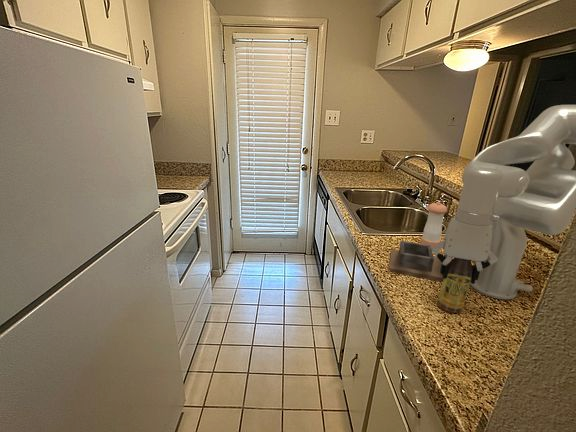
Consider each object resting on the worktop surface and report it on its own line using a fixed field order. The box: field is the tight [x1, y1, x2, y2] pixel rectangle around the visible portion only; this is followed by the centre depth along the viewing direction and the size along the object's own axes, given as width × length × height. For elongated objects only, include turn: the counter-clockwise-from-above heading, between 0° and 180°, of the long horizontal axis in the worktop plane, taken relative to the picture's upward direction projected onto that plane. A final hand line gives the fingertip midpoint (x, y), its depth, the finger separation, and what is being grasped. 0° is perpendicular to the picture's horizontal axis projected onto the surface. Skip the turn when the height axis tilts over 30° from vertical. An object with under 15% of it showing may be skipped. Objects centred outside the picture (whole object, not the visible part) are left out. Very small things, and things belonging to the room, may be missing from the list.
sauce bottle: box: [437, 257, 474, 314], centre depth 79 cm, size 7×6×20 cm
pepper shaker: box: [419, 201, 448, 248], centre depth 117 cm, size 7×7×19 cm
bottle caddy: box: [388, 240, 453, 283], centre depth 103 cm, size 22×16×6 cm
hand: (457, 278), depth 79 cm, fingers closed on sauce bottle, 6 cm apart
